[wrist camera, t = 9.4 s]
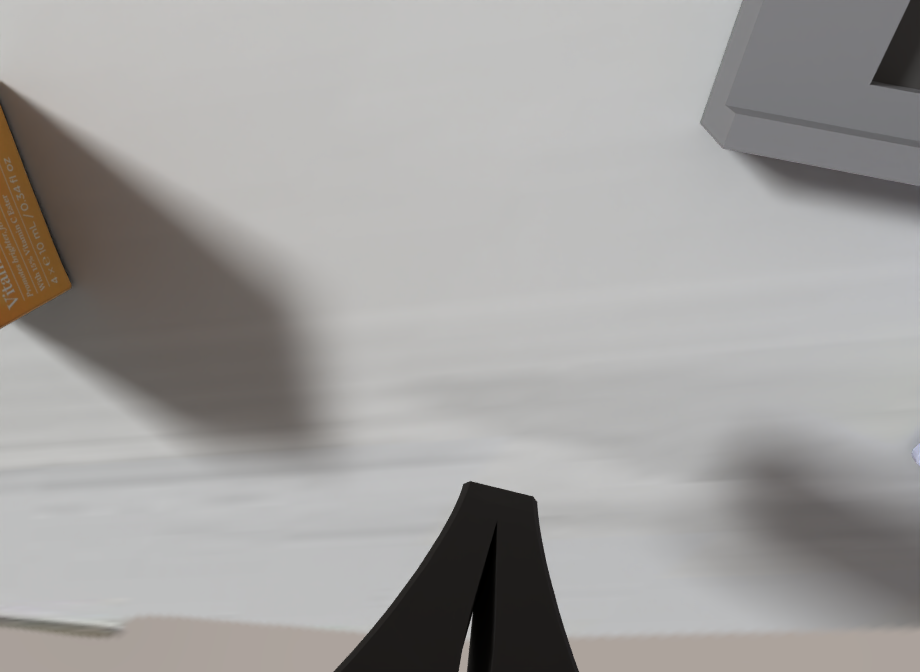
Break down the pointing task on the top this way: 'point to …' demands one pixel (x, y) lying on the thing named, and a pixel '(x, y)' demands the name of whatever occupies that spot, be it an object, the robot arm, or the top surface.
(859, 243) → the top surface
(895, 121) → the grey divided tray
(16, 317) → the small box
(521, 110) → the top surface
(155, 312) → the top surface
